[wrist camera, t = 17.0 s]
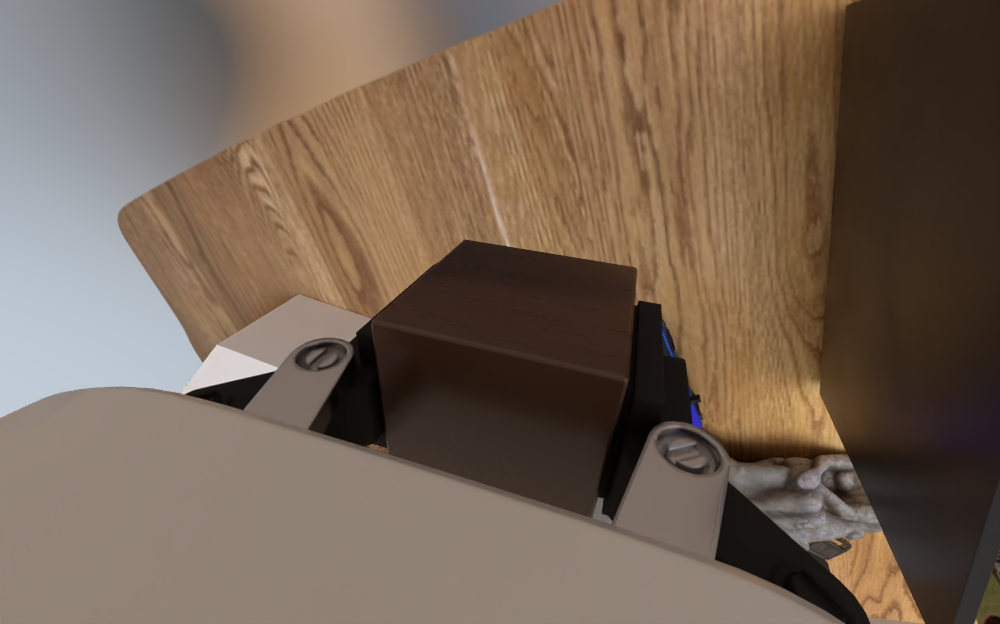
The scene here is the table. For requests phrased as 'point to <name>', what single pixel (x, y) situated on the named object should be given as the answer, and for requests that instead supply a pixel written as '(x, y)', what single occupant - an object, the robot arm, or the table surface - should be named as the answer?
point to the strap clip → (827, 550)
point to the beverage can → (991, 599)
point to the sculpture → (808, 496)
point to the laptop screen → (920, 288)
